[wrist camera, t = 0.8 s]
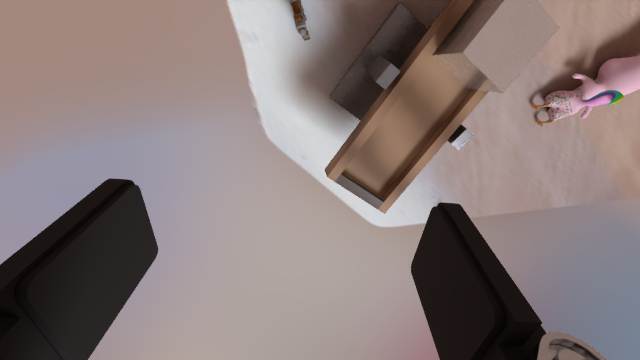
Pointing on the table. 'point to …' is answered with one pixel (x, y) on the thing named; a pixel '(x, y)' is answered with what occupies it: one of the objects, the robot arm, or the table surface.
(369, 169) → the balance beam
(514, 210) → the table surface
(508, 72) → the white block
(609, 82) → the pink animal figure
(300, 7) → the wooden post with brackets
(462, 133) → the pivot stand
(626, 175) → the table surface
